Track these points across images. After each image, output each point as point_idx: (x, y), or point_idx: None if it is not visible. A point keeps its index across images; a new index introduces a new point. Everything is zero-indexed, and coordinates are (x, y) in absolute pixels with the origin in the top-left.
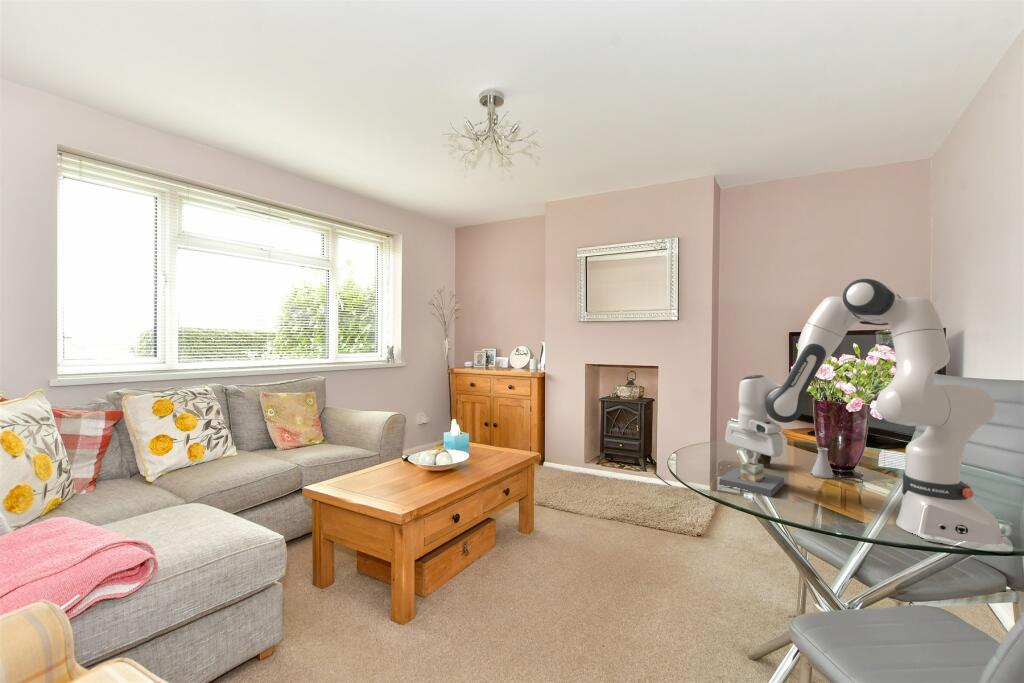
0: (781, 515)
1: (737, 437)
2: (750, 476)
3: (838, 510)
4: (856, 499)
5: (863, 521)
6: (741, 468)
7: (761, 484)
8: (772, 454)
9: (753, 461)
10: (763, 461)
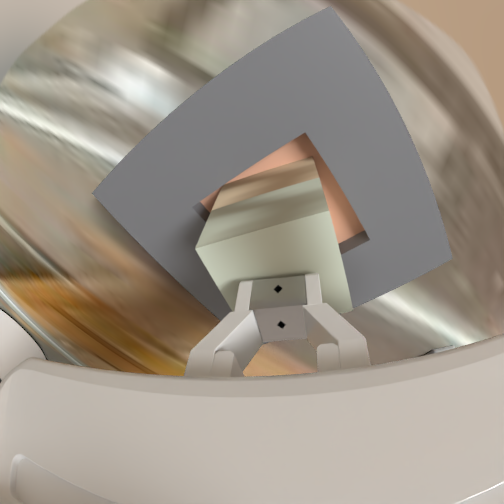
0: None
1: (485, 465)
2: (242, 195)
3: (41, 289)
4: (120, 368)
5: (4, 282)
6: (314, 191)
7: (166, 197)
8: (18, 368)
9: (240, 294)
10: None
